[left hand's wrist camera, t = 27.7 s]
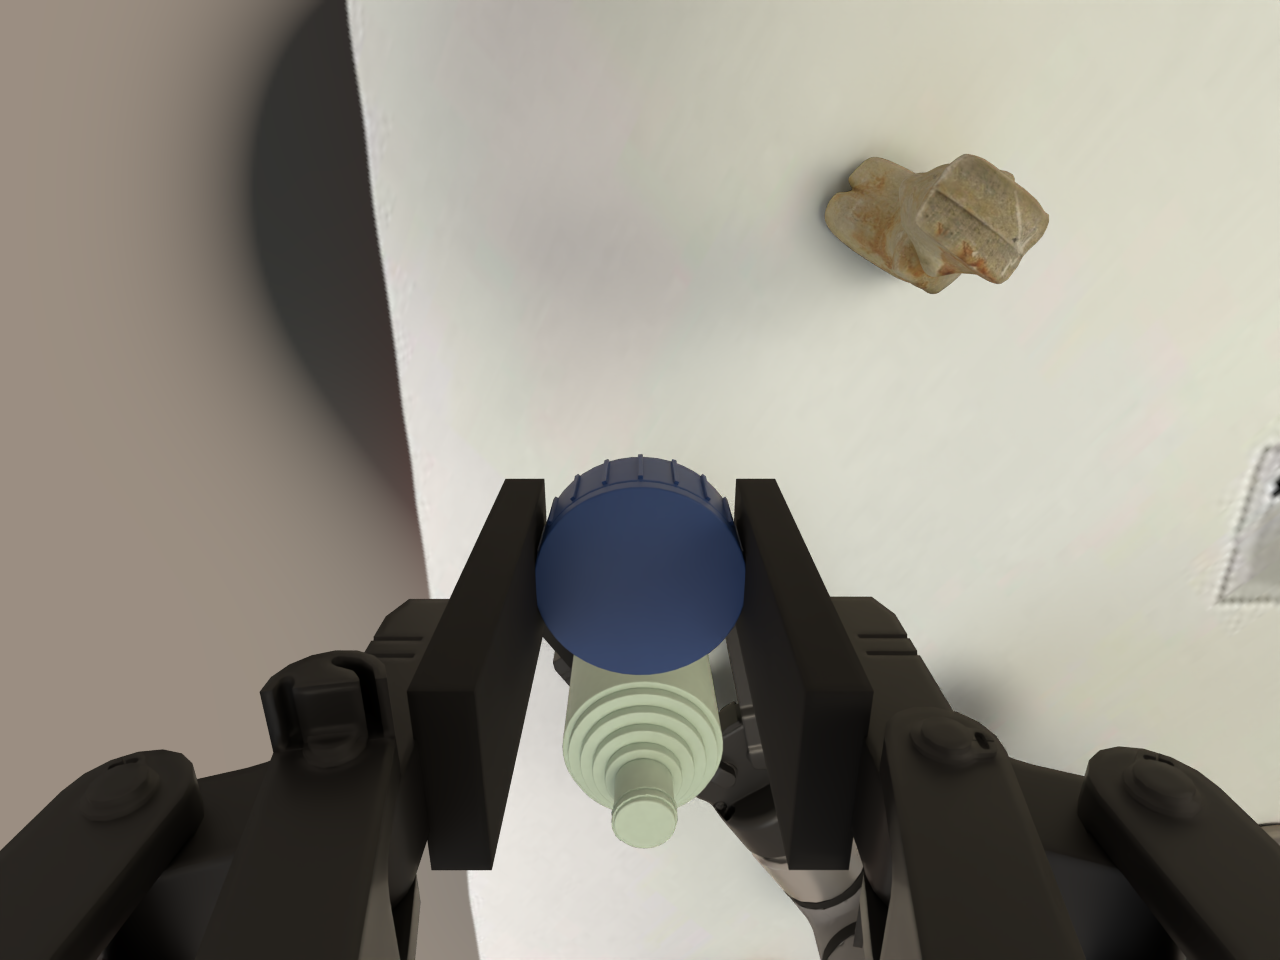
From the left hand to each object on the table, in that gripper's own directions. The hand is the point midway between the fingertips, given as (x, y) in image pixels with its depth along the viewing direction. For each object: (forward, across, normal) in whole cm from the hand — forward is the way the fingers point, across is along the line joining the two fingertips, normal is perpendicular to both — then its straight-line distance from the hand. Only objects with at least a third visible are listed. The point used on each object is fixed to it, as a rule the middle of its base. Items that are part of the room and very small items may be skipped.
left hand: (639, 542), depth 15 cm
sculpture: (+33, +14, +5) cm, 36 cm away
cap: (-1, 0, 0) cm, 1 cm away
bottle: (+32, 0, -19) cm, 37 cm away
